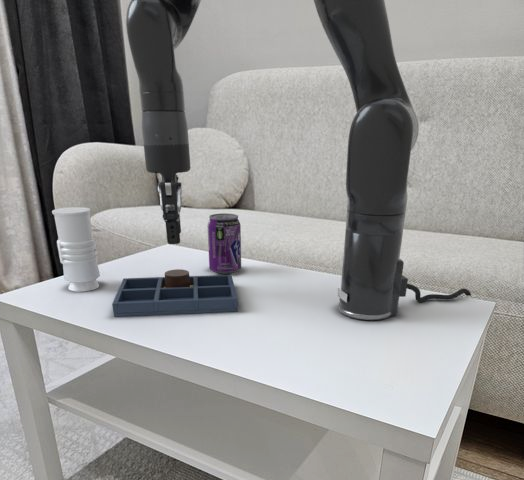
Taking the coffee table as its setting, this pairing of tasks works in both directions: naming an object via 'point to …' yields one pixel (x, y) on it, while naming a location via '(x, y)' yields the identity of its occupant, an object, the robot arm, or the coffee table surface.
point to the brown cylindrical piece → (177, 278)
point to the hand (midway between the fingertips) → (174, 238)
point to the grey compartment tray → (175, 296)
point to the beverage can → (224, 243)
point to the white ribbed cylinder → (77, 248)
